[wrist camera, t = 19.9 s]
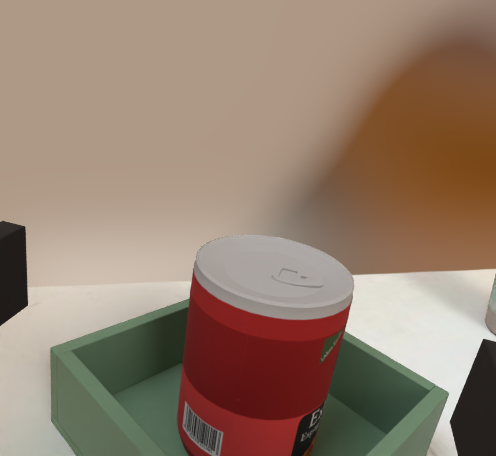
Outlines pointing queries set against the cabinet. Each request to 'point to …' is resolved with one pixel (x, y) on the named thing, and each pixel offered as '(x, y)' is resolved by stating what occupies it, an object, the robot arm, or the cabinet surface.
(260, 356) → the canned food
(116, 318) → the cabinet surface
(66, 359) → the tote
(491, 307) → the coffee cup
